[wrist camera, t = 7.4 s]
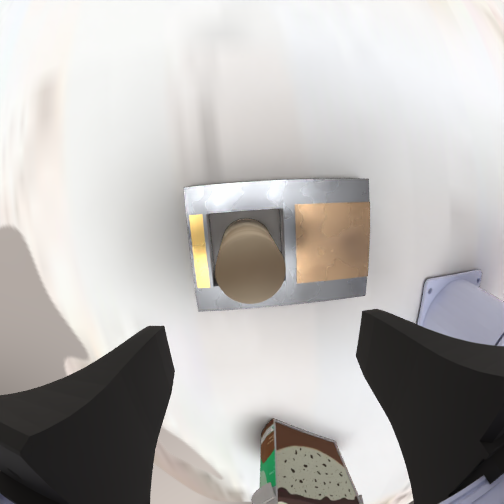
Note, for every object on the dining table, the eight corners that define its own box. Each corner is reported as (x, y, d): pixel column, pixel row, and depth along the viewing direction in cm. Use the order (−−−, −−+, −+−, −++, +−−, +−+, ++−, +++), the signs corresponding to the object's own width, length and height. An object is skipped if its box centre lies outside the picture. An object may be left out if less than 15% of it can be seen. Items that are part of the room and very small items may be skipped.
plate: (357, 287, 20) (365, 296, 18) (201, 301, 19) (198, 312, 18) (359, 178, 18) (369, 178, 16) (188, 186, 17) (183, 187, 16)
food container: (223, 441, 23) (222, 521, 14) (261, 412, 22) (271, 503, 13) (305, 467, 26) (320, 530, 16) (342, 443, 25) (366, 509, 15)
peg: (271, 263, 19) (286, 300, 13) (224, 267, 19) (218, 306, 13) (269, 216, 18) (284, 234, 12) (220, 220, 18) (211, 239, 12)
